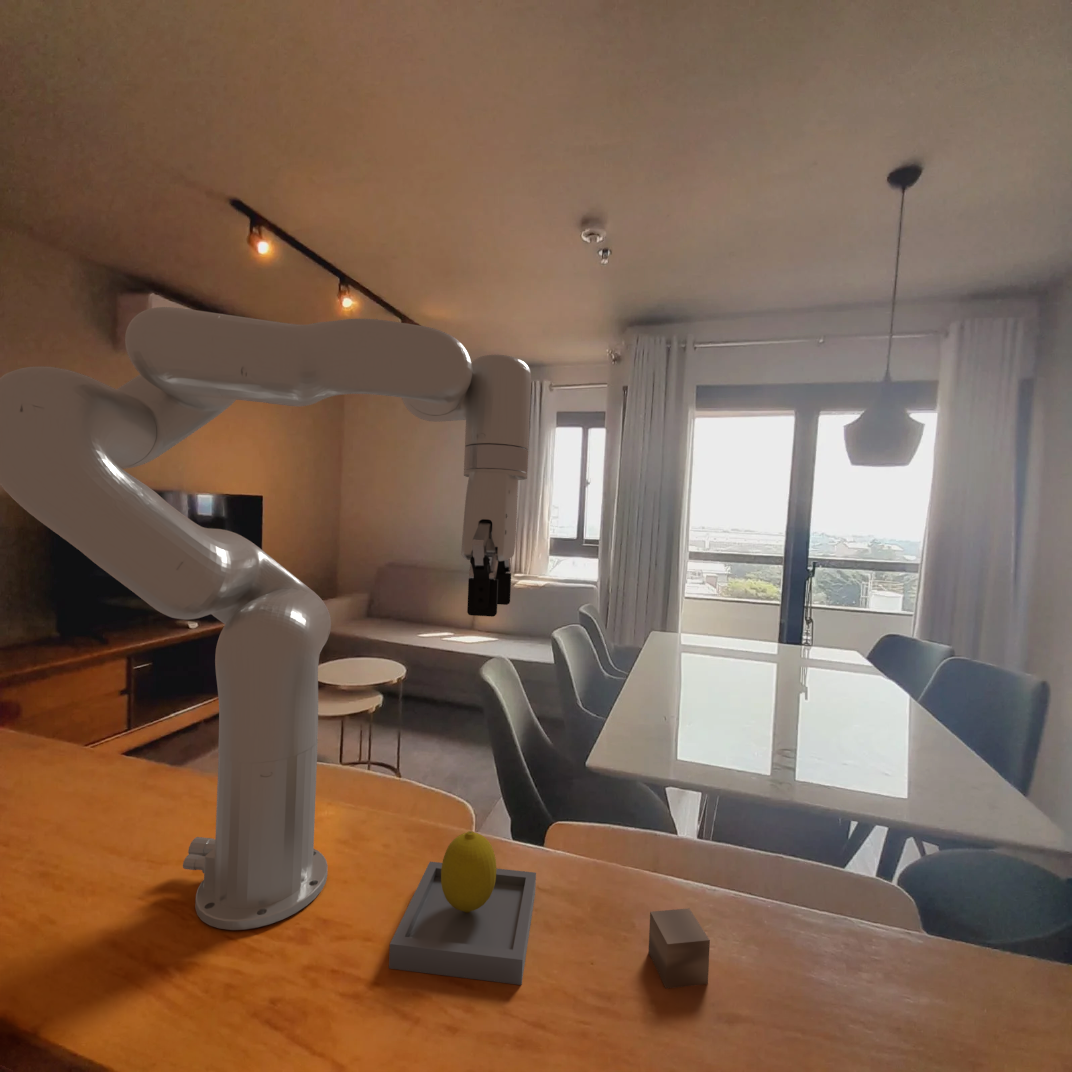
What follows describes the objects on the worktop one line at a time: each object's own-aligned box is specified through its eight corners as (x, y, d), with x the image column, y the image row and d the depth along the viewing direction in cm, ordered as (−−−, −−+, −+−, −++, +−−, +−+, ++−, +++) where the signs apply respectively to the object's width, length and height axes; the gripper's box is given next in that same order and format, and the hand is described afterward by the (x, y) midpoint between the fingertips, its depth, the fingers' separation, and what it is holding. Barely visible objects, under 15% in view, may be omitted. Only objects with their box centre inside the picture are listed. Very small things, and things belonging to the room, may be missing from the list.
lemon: (495, 893, 56) (498, 817, 56) (493, 932, 50) (496, 849, 50) (443, 892, 56) (446, 816, 56) (435, 931, 50) (438, 848, 50)
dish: (388, 968, 47) (389, 943, 47) (429, 881, 59) (429, 861, 59) (521, 984, 46) (522, 960, 46) (535, 892, 58) (536, 872, 58)
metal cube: (665, 989, 46) (667, 944, 46) (648, 953, 50) (650, 911, 50) (707, 984, 47) (709, 940, 47) (687, 949, 51) (689, 908, 51)
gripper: (479, 472, 71) (474, 598, 72) (445, 453, 54) (438, 619, 54) (534, 474, 71) (529, 601, 71) (517, 454, 53) (510, 623, 54)
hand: (490, 609), depth 63 cm, fingers open, 9 cm apart
